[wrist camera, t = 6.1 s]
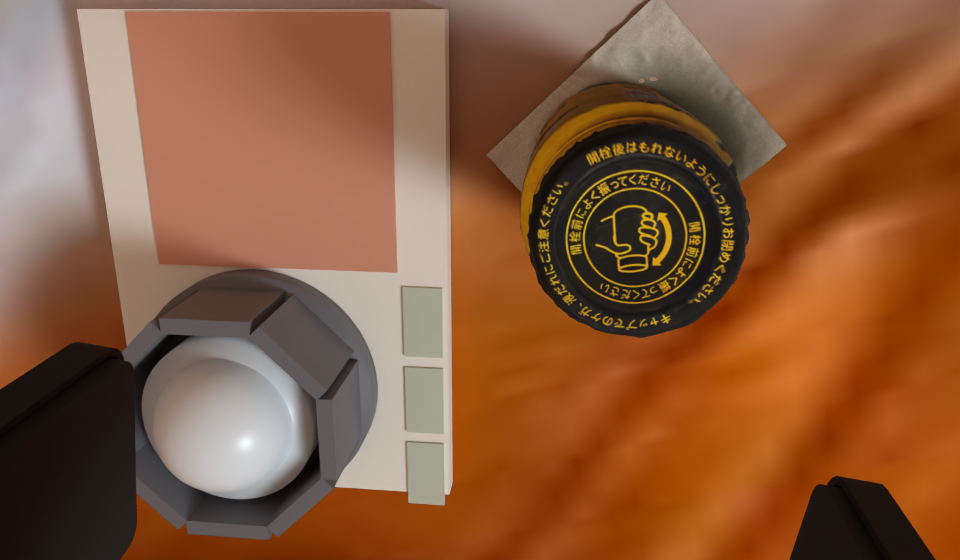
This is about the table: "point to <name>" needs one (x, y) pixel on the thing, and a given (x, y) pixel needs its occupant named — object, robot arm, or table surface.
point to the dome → (228, 418)
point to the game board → (286, 229)
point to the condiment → (638, 180)
